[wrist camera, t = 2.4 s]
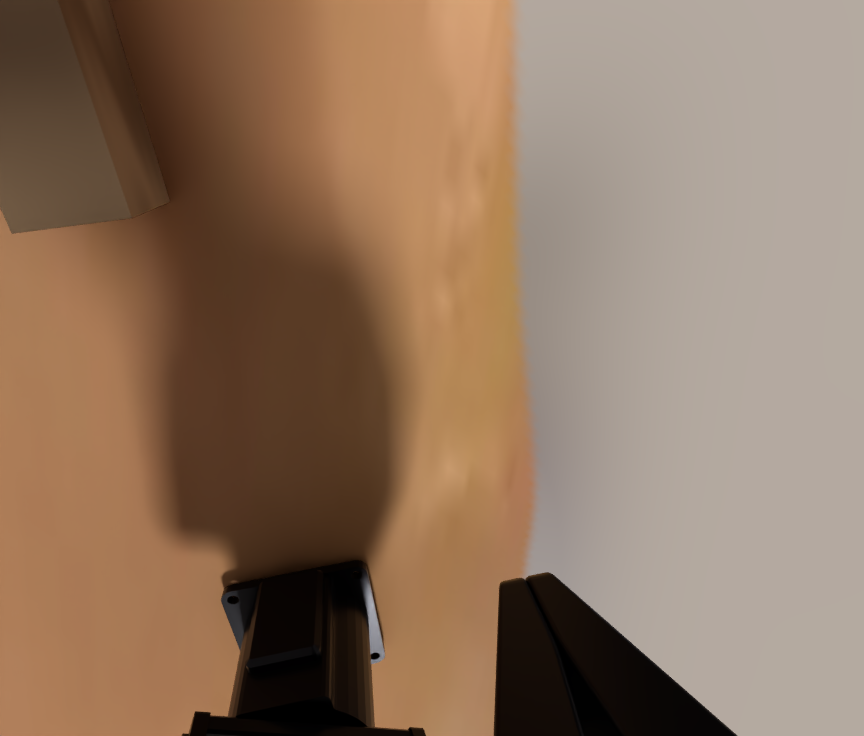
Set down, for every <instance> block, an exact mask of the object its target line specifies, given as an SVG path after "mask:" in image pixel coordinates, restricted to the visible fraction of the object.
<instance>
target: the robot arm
mask: <svg viewBox="0 0 864 736" xmlns="http://www.w3.org/2000/svg"><path fill="white" fill-rule="evenodd" d="M355 571H359V572H358V573H353V572H355ZM232 596H236V597H232ZM221 602H222V605H223V607H224V610H225V612H226V615H227V618H228V620H229V623H230V625H231V628H232V631H233V633H234V636H235V638H236V641H237V643H238V646H239V649H240V656H239V661H238V666H237V671H236V676H235V682H234V687H233V692H232V697H231V702H230V708H229V713H228V717H225V716H211V715H210V712H197V711H195V713H194V717H193V720H192V724H191V727H190V730H189V734H182V736H426V735H425V732H424V729H423V728H413V727H410V728H409V729H408V730H404V729H390V728H377V727H375V723H374V706H373V688H372V670H371V664H373V663H377V662H380V661H381V660H383V658H384V657H385V650H384V644H383V639H382V634H381V630H380V625H379V620H378V616H377V611H376V606H375V602H374V597H373V592H372V588H371V583H370V578H369V573H368V569H367V566H366V564H365V563H364V562H363V561H359V560H357V561H350V562H345V563H340V564H335V565H330V566H325V567H320V568H315V569H310V570H304V571H299V572H294V573H289V574H284V575H279V576H274V577H269V578H264V579H259V580H254V581H249V582H244V583H239V584H234V585H230V586H227V587H226V588H225V589H224V591H223V594H222V598H221ZM494 736H737V735H736V734H735V733H734V732H733V731H731V730H730V729H729V728H728V727H727V726H726V725H725V724H723V723H722V722H721V721H720V720H719V719H717V718H716V717H715V716H714V715H713V714H712V713H711V712H710V711H709V710H707V709H706V708H705V707H704V706H703V705H702V704H701V703H699V702H698V701H697V700H696V699H695V698H694V697H693V696H691V695H690V694H689V693H688V692H687V691H686V690H685V689H683V688H682V687H681V686H680V685H679V684H678V683H676V682H675V681H674V680H673V679H672V678H671V677H670V676H669V675H667V674H666V673H665V672H664V671H663V670H662V669H661V668H659V667H658V666H657V665H656V664H655V663H654V662H653V661H651V660H650V659H649V658H648V657H647V656H645V654H643V653H642V652H641V651H640V650H639V649H638V648H636V647H635V646H634V645H633V644H632V643H631V642H630V641H629V640H627V639H626V638H625V637H624V636H623V635H622V634H620V633H619V632H618V631H617V630H616V629H615V628H614V627H612V626H611V625H610V624H609V623H608V622H607V621H606V620H604V619H603V618H602V617H601V616H600V615H599V614H598V613H597V612H595V611H594V610H593V609H592V608H591V607H590V606H589V605H587V604H586V603H585V602H584V601H583V600H582V599H580V598H579V597H578V596H577V595H576V594H575V593H574V592H572V591H571V590H570V589H569V588H568V587H567V586H565V584H563V583H562V582H561V581H560V580H559V579H558V578H556V577H555V576H554V575H553V574H551V573H548V572H547V573H541V574H536V575H531V576H528V577H527V578H526V580H525V579H523V578H516V579H512V580H507V581H503V582H501V583H500V586H499V607H498V634H497V661H496V688H495V715H494Z"/></svg>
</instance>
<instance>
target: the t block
mask: <svg viewBox="0 0 864 736" xmlns="http://www.w3.org/2000/svg"><path fill="white" fill-rule="evenodd" d="M169 202H170V200H169V196H168V193H167V190H166V187H165V183H164V180H163V177H162V174H161V170H160V167H159V164H158V161H157V157H156V154H155V151H154V147H153V144H152V141H151V138H150V134H149V131H148V128H147V125H146V121H145V118H144V115H143V112H142V108H141V105H140V102H139V99H138V95H137V92H136V89H135V85H134V82H133V79H132V76H131V72H130V69H129V66H128V63H127V59H126V56H125V53H124V50H123V46H122V43H121V40H120V37H119V33H118V30H117V27H116V23H115V20H114V17H113V14H112V10H111V7H110V4H109V1H108V0H0V208H1V210H2V212H3V215H4V217H5V219H6V222H7V224H8V226H9V228H10V231H11V233H12V234H13V233H21V232H29V231H36V230H44V229H52V228H60V227H67V226H75V225H83V224H91V223H98V222H106V221H114V220H122V219H129V218H133V217H136V216H138V215H141V214H143V213H145V212H148V211H150V210H152V209H155V208H157V207H159V206H162V205H164V204H166V203H169Z"/></svg>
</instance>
